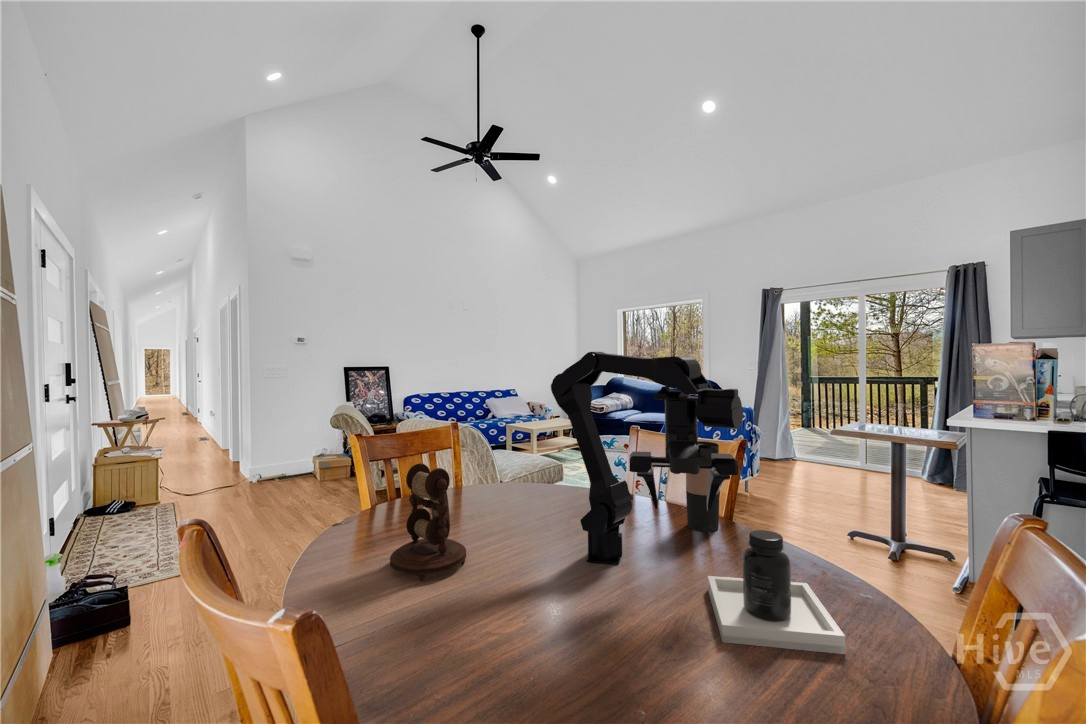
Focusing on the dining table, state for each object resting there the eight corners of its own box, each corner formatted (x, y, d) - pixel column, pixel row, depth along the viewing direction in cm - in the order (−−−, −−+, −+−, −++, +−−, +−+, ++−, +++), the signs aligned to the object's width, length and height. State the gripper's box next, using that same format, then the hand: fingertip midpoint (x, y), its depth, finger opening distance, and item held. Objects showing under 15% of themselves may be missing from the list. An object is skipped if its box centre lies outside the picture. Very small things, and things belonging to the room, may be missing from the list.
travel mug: (681, 522, 121) (680, 441, 121) (711, 520, 122) (710, 440, 121) (693, 533, 113) (692, 447, 113) (725, 531, 114) (724, 446, 114)
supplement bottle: (801, 617, 74) (801, 539, 74) (766, 626, 72) (766, 545, 72) (766, 597, 81) (766, 525, 81) (733, 605, 78) (732, 530, 78)
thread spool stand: (481, 564, 98) (480, 464, 97) (417, 590, 87) (415, 478, 87) (438, 545, 108) (437, 455, 108) (376, 567, 97) (374, 466, 97)
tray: (722, 642, 70) (722, 624, 70) (707, 589, 86) (707, 575, 86) (845, 654, 67) (845, 636, 67) (806, 597, 82) (806, 583, 82)
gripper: (628, 430, 83) (629, 521, 83) (744, 432, 79) (745, 527, 80) (629, 421, 94) (630, 502, 94) (732, 423, 90) (733, 507, 90)
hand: (682, 509), depth 89 cm, fingers open, 9 cm apart
